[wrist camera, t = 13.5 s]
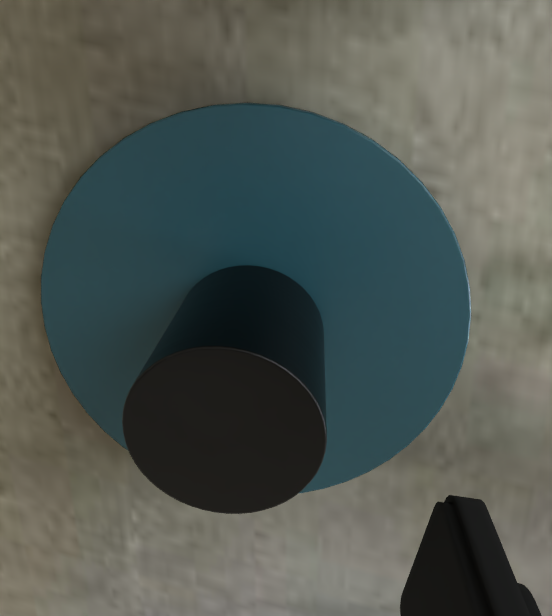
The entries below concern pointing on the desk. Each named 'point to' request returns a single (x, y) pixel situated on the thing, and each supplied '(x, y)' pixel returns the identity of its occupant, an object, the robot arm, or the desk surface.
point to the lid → (254, 303)
